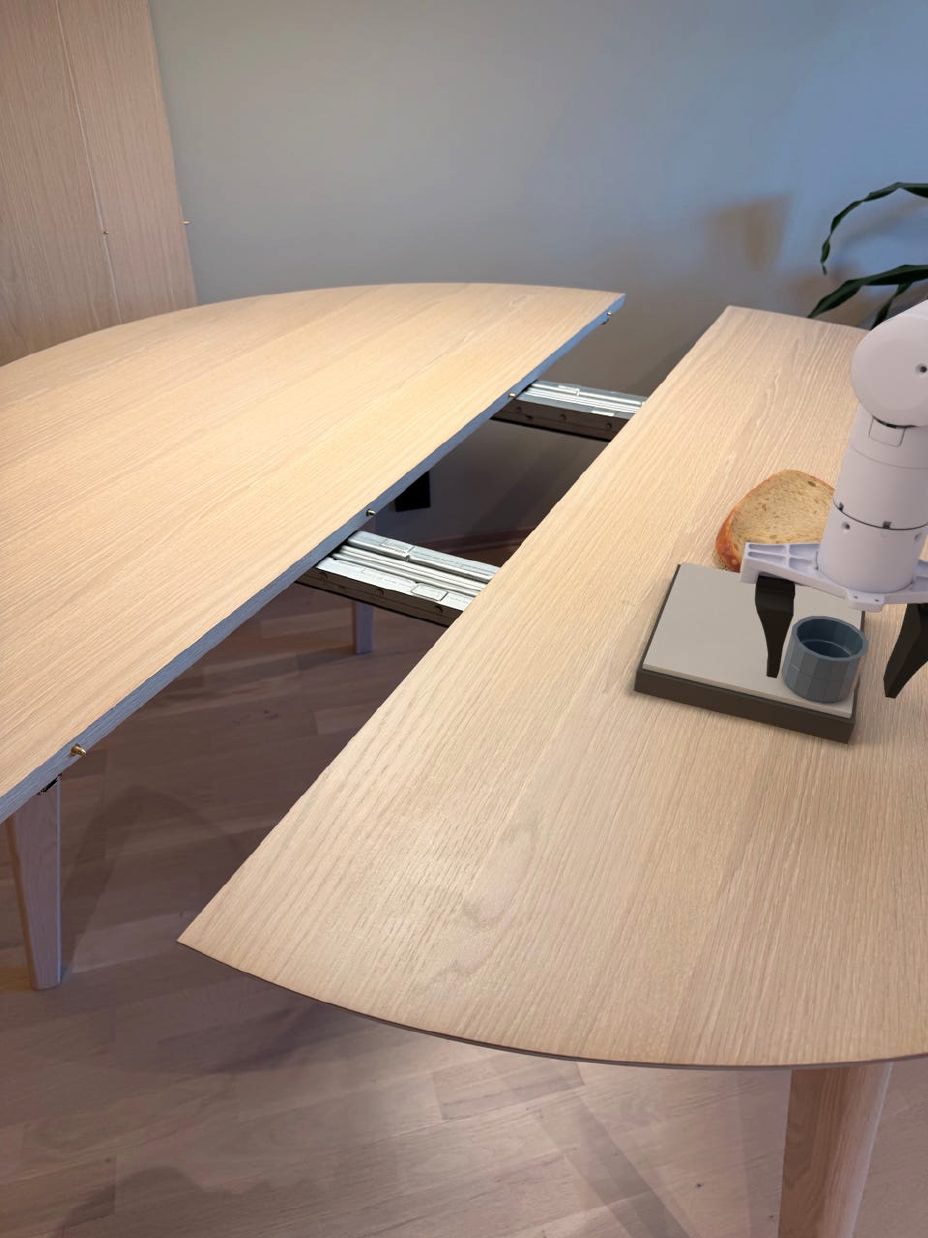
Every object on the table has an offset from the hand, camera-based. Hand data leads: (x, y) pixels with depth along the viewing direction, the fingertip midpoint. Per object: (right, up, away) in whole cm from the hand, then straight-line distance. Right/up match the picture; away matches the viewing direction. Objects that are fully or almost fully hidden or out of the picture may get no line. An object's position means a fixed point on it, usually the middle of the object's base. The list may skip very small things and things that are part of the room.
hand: (829, 678), depth 65 cm
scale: (0, +1, +18) cm, 18 cm away
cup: (+3, -1, +11) cm, 11 cm away
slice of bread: (+8, +13, +34) cm, 37 cm away
